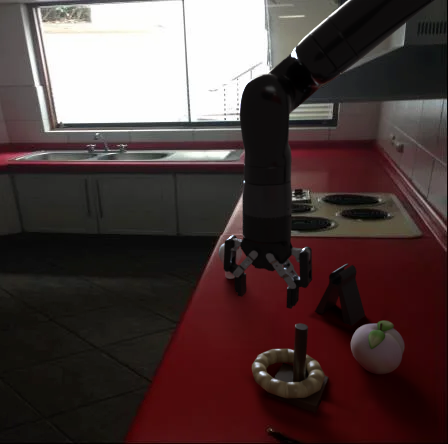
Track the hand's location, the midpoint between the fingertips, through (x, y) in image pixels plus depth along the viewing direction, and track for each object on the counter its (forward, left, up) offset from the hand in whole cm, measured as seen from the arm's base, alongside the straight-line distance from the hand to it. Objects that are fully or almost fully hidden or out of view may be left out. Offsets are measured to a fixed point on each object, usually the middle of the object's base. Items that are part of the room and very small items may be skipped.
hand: (265, 300), depth 70 cm
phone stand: (-7, -27, -16) cm, 32 cm away
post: (-6, 0, -16) cm, 17 cm away
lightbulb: (+22, -33, -16) cm, 42 cm away
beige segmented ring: (-4, 0, -13) cm, 14 cm away
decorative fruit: (-16, -11, -16) cm, 25 cm away
